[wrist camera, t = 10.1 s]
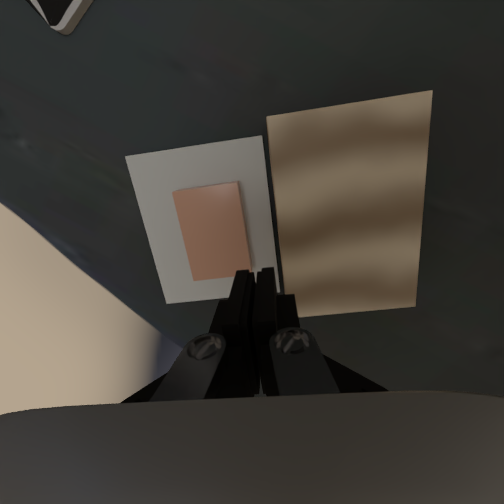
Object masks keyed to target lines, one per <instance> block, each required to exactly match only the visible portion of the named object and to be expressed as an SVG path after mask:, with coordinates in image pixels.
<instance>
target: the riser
mask: <svg viewBox="0 0 504 504" xmlns="http://www.w3.org/2000/svg"><path fill="white" fill-rule="evenodd" d="M432 92H433V90H430V91H424V92H417V93H411V94H405V95H399V96H392V97H386V98H380V99H374V100H367V101H361V102H355V103H349V104H342V105H336V106H330V107H324V108H317V109H311V110H305V111H299V112H292V113H286V114H280V115H274V116H267V118H266V126H267V135H268V144H269V153H270V163H271V172H272V181H273V190H274V199H275V208H276V218H277V227H278V236H279V245H280V254H281V263H282V273H283V282H284V291H285V294H295V300H296V306H297V312H298V317H307V316H318V315H329V314H340V313H350V312H361V311H372V310H382V309H393V308H404V307H415V305H416V292H417V280H418V267H419V255H420V242H421V230H422V217H423V205H424V192H425V180H426V167H427V155H428V142H429V129H430V117H431V104H432Z"/></svg>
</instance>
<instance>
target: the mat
mask: <svg viewBox="0 0 504 504" xmlns="http://www.w3.org/2000/svg"><path fill="white" fill-rule="evenodd" d="M125 158H126V162H127V165H128V169H129V172H130V176H131V179H132V183H133V186H134V190H135V193H136V197H137V200H138V204H139V208H140V211H141V215H142V218H143V222H144V225H145V229H146V232H147V236H148V239H149V243H150V246H151V250H152V253H153V257H154V261H155V264H156V268H157V271H158V275H159V278H160V282H161V285H162V289H163V292H164V296H165V299H166V303H167V304H169V303H179V302H188V301H198V300H208V299H218V298H228V297H229V295H230V291H231V288H232V284H233V281H234V277H235V276H234V277H226V278H217V279H208V280H200V281H193V277H192V273H191V269H190V265H189V261H188V256H187V252H186V248H185V244H184V240H183V236H182V232H181V228H180V224H179V220H178V215H177V211H176V207H175V203H174V199H173V195H172V192H173V191H176V190H178V189H185V188H191V187H198V186H205V185H212V184H218V183H225V182H232V181H239V183H240V189H241V196H242V202H243V208H244V215H245V221H246V227H247V234H248V240H249V246H250V253H251V259H252V266H253V268H252V272H254V275H255V282H256V278H257V272H258V271H261V270H262V268H266V267H274V271H275V279H276V287H277V292H280V287H279V278H278V269H277V261H276V252H275V243H274V235H273V226H272V217H271V209H270V200H269V191H268V183H267V174H266V166H265V157H264V148H263V140H262V135H261V136H255V137H248V138H242V139H235V140H229V141H222V142H216V143H209V144H203V145H196V146H190V147H183V148H177V149H170V150H164V151H157V152H151V153H144V154H138V155H131V156H125Z"/></svg>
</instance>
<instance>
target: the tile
mask: <svg viewBox="0 0 504 504" xmlns="http://www.w3.org/2000/svg"><path fill="white" fill-rule="evenodd" d="M172 195H173V199H174V203H175V207H176V211H177V215H178V220H179V224H180V228H181V232H182V236H183V240H184V244H185V248H186V252H187V256H188V261H189V265H190V269H191V273H192V277H193V281H200V280H208V279H217V278H226V277H234V276H235V274H236V271H237V270H246V269H249V272H252V268H253V266H252V259H251V253H250V246H249V240H248V234H247V227H246V221H245V215H244V208H243V202H242V196H241V189H240V183H239V181H232V182H225V183H218V184H212V185H205V186H198V187H191V188H185V189H178V190H176V191H173V192H172Z"/></svg>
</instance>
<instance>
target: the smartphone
mask: <svg viewBox="0 0 504 504" xmlns="http://www.w3.org/2000/svg"><path fill="white" fill-rule="evenodd" d="M26 1H27V2H28V3H29V4H30V5H31V6H32V8H33V9H34V10H35V11H36V12H37V13H38V14H39V15H40V16H41V17H42V18H43V19H44V20H45V21H46V22H47V23H48V25H49V26H50V27H52V28H53V29H55V30H56V31H58V32H60V33H61V34H64V35H68V34H70V33H71V32H72V31H73V30H74V28H75V27H76V25H77V24H78V22H79V21H80V19H81V18H82V16H83V15H84V13H85V12H86V10H87V9H88V8H89V6H90V5H91V3H92V2H93V0H26Z"/></svg>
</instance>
